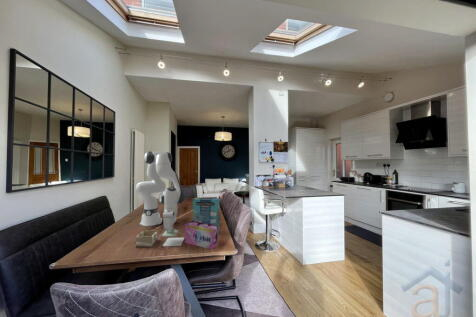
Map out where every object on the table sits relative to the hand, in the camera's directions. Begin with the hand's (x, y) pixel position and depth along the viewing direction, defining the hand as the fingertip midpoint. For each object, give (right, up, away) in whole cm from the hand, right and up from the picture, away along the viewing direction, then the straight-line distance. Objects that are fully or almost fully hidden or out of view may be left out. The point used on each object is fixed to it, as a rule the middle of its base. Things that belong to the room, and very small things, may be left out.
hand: (170, 231), depth 135 cm
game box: (+21, -9, +21) cm, 31 cm away
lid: (0, -2, 0) cm, 2 cm away
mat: (+2, -8, +1) cm, 8 cm away
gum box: (+22, -8, -2) cm, 23 cm away
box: (-16, -8, -2) cm, 17 cm away
